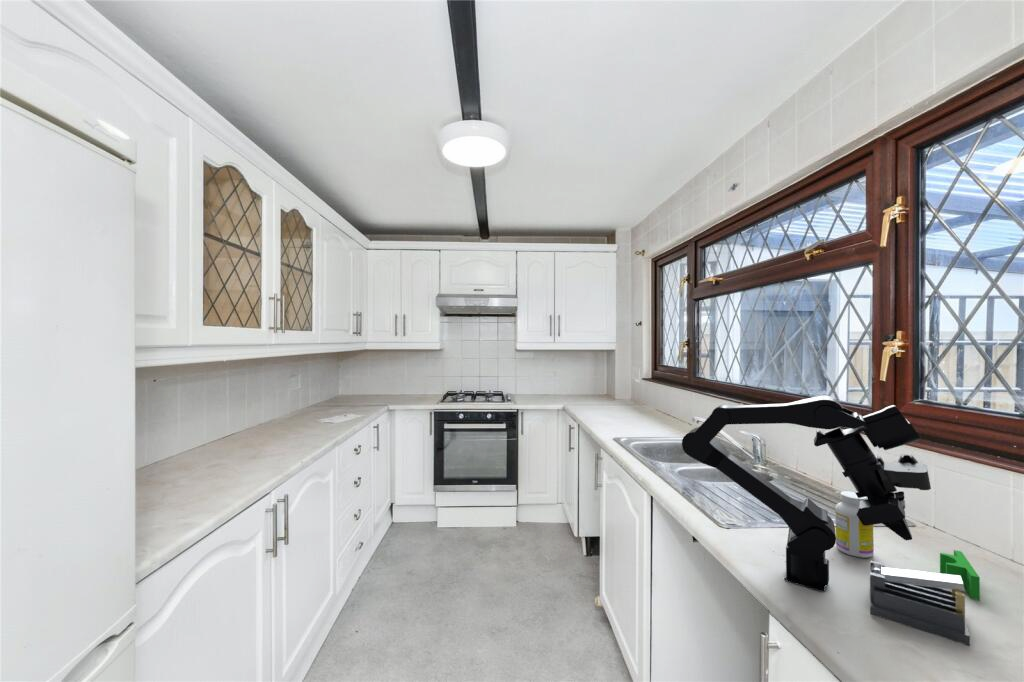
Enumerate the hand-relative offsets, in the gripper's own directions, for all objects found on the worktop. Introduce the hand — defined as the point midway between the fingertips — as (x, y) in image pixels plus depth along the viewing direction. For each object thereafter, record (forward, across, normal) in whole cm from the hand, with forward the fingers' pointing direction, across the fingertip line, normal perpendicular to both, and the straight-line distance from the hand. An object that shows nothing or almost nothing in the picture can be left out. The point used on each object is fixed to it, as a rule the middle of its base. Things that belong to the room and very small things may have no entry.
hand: (909, 539), depth 77 cm
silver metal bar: (+6, -3, +2) cm, 7 cm away
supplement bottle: (+8, +16, +14) cm, 23 cm away
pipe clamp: (+16, +14, 0) cm, 21 cm away
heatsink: (+11, -4, +5) cm, 12 cm away
